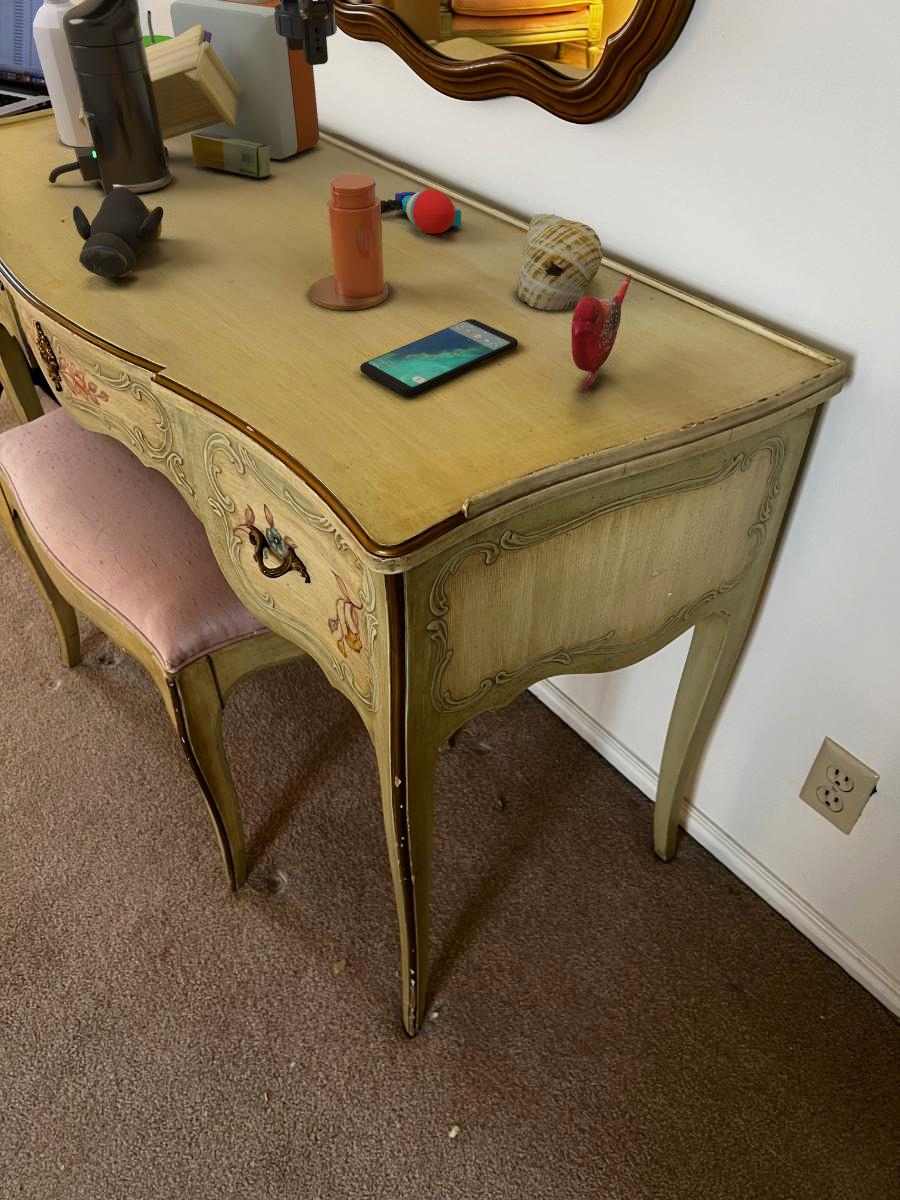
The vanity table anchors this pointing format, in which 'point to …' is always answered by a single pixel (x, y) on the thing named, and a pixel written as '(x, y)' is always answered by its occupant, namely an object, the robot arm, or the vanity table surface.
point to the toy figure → (426, 210)
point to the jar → (356, 236)
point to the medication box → (231, 154)
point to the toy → (117, 233)
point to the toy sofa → (190, 84)
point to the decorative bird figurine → (595, 331)
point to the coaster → (329, 298)
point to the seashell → (557, 262)
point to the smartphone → (438, 356)
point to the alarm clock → (257, 73)
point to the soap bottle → (59, 71)
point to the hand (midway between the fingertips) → (307, 55)
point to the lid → (297, 21)
